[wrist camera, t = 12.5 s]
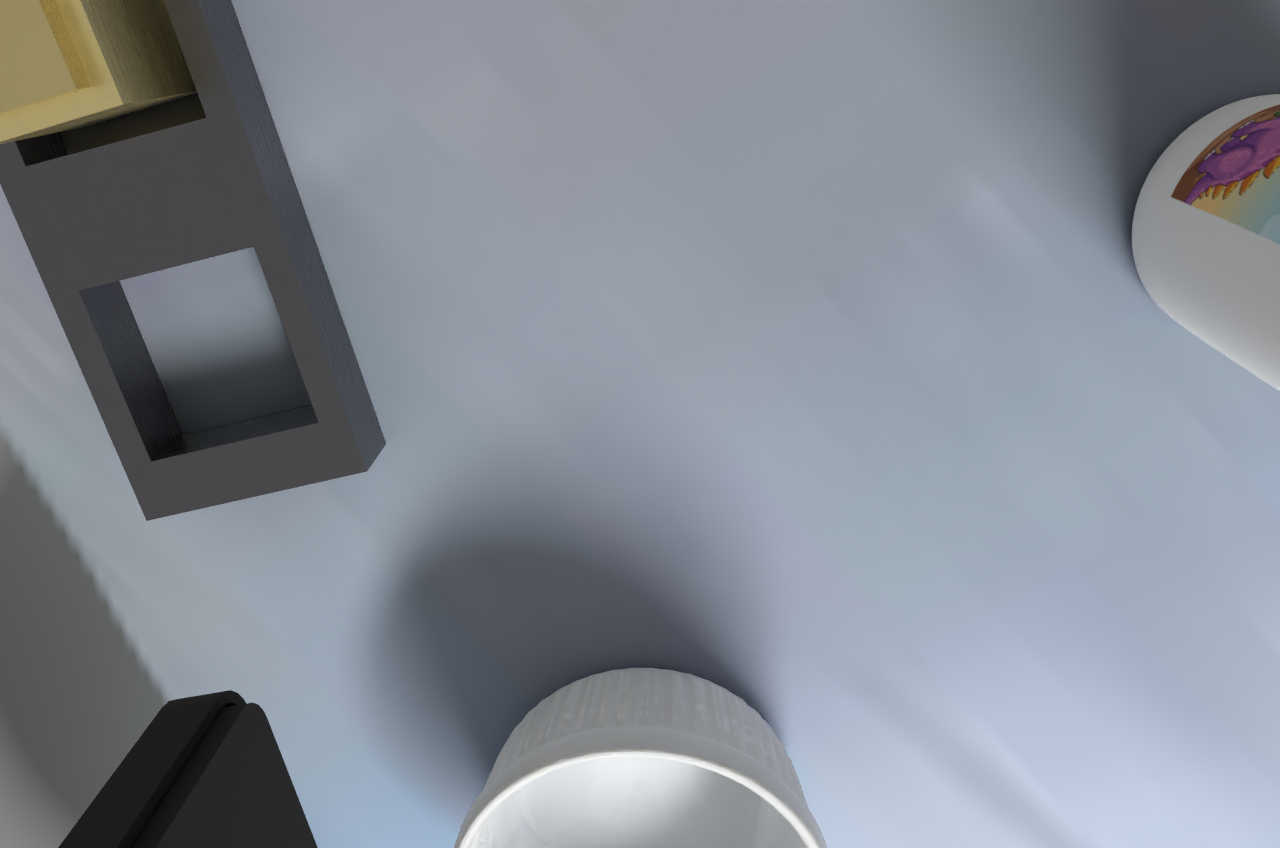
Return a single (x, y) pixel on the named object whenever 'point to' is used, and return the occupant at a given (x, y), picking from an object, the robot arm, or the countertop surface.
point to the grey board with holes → (182, 233)
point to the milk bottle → (1218, 233)
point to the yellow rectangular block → (84, 63)
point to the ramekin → (641, 772)
